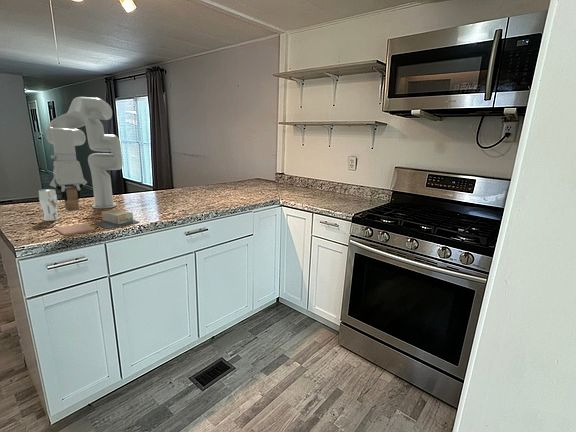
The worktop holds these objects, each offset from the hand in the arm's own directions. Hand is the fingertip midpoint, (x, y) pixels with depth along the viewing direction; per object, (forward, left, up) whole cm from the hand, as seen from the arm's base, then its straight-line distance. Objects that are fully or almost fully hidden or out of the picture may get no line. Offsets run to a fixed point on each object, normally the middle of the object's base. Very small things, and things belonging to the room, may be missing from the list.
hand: (71, 199), depth 138 cm
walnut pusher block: (0, 0, -5) cm, 5 cm away
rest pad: (0, 0, -14) cm, 14 cm away
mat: (0, +18, -14) cm, 23 cm away
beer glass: (-27, -2, -15) cm, 31 cm away
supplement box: (-8, +18, -12) cm, 23 cm away
